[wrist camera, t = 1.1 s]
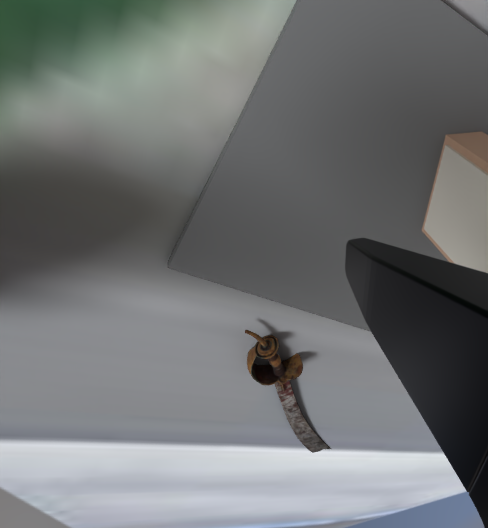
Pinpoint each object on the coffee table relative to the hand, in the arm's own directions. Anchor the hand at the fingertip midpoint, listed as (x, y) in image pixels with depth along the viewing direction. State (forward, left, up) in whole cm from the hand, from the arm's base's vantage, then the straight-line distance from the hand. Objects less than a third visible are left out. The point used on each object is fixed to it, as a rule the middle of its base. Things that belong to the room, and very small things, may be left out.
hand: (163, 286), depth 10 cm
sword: (-18, -20, -14) cm, 30 cm away
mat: (+1, -13, -13) cm, 19 cm away
